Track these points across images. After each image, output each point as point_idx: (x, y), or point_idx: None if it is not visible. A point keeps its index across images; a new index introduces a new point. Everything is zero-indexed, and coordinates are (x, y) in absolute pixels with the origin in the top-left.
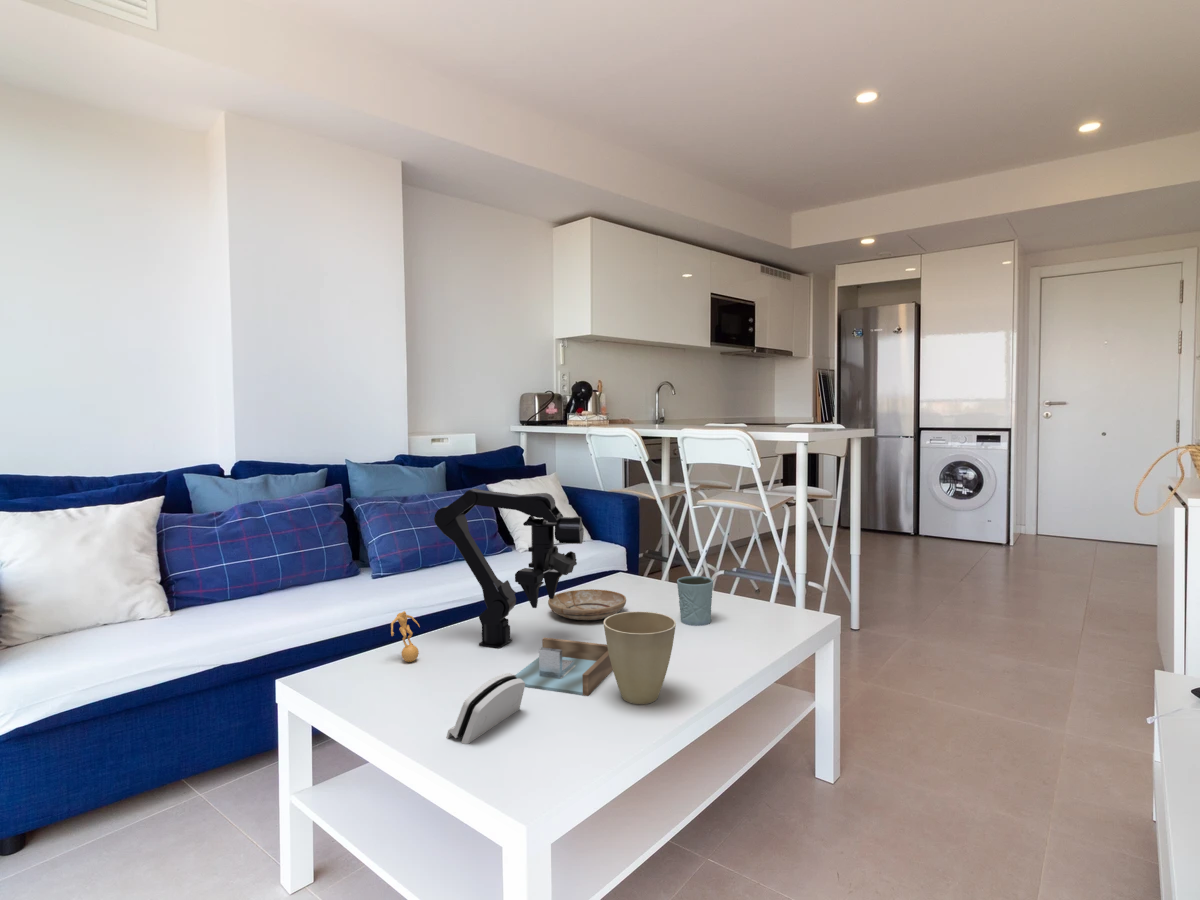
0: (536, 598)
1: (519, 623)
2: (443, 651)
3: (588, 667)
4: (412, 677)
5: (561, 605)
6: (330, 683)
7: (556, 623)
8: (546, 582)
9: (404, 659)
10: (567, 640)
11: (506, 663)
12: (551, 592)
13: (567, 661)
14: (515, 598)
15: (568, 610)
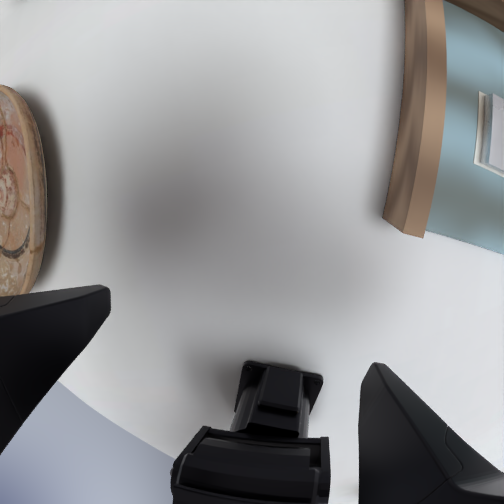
0: (432, 411)
1: (104, 354)
2: (343, 461)
3: (476, 53)
4: (471, 442)
5: (2, 268)
6: None
7: (69, 256)
8: (34, 394)
9: None
10: (428, 112)
11: (448, 321)
12: (79, 318)
13: (500, 114)
14: (190, 465)
15: (36, 225)
